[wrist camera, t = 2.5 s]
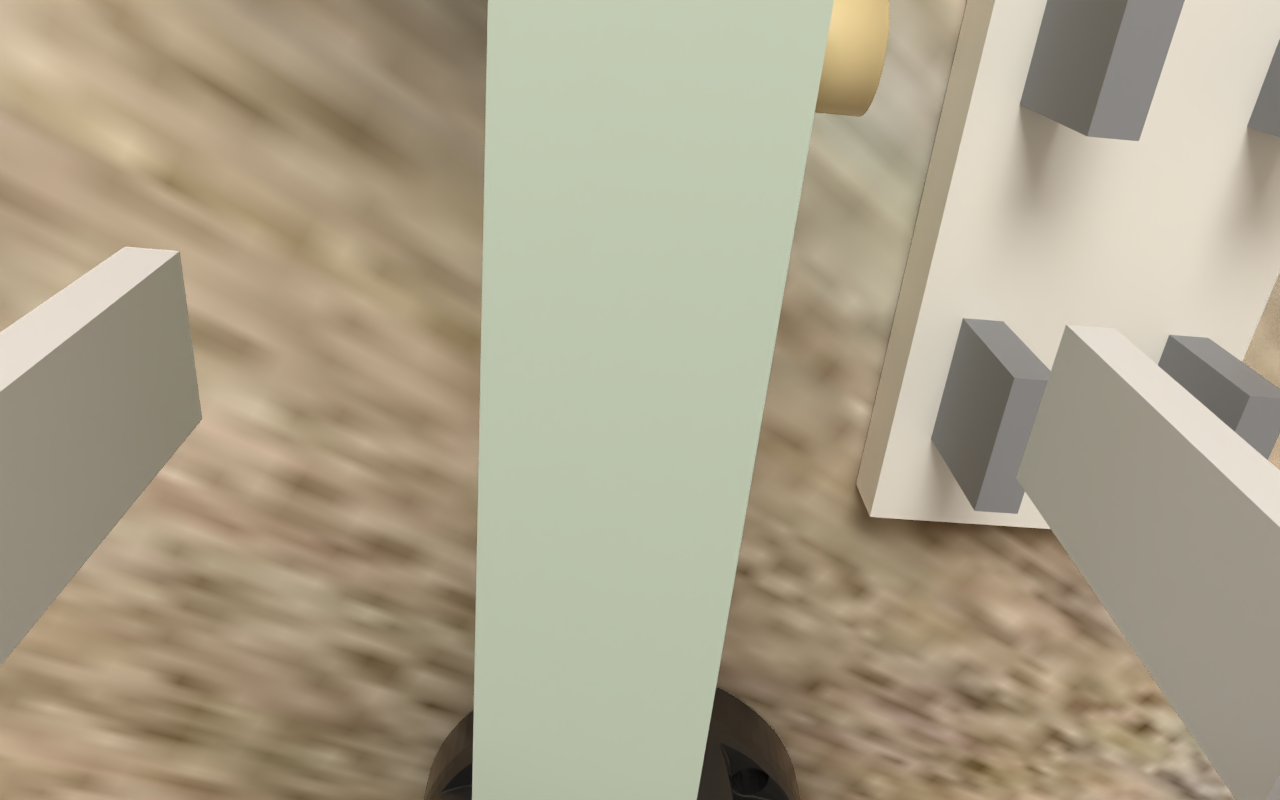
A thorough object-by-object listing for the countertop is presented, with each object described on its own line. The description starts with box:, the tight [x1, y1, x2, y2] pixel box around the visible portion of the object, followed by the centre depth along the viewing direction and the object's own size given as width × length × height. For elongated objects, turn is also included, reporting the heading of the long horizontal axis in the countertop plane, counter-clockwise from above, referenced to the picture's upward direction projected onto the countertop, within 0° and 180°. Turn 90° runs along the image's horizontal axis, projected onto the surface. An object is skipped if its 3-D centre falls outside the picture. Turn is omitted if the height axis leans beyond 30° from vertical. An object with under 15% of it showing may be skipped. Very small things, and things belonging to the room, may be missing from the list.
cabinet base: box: [856, 0, 1280, 529], centre depth 26 cm, size 20×10×6 cm, turn 175°
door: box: [472, 0, 890, 800], centre depth 20 cm, size 14×5×17 cm, turn 175°
